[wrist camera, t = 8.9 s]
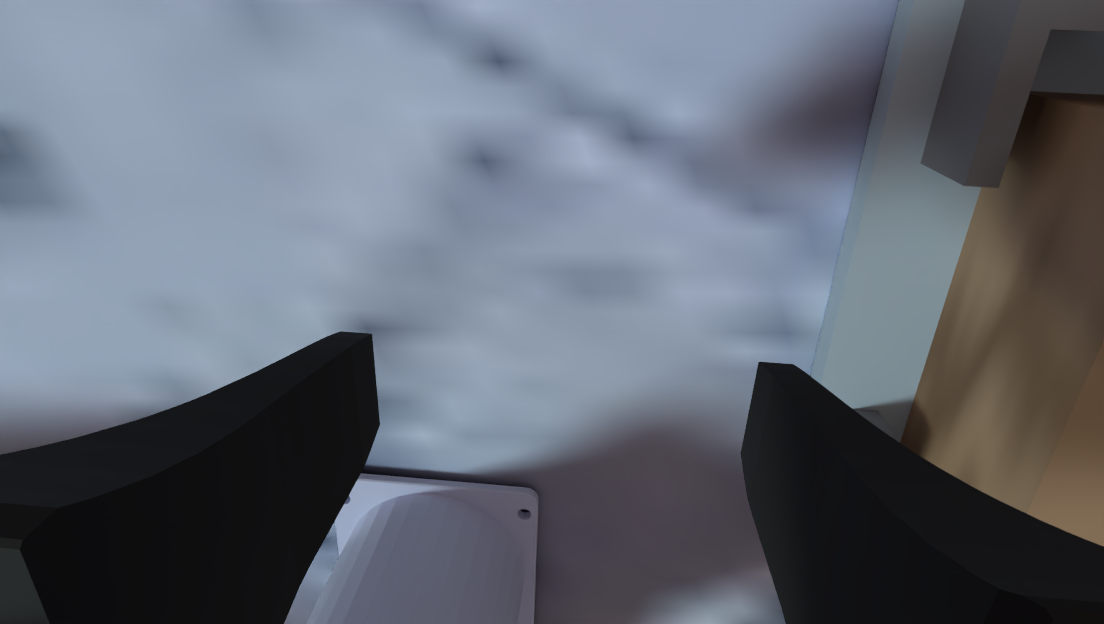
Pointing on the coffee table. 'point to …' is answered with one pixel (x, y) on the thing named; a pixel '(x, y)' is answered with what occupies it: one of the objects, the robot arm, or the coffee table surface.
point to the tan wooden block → (1028, 329)
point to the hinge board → (937, 177)
